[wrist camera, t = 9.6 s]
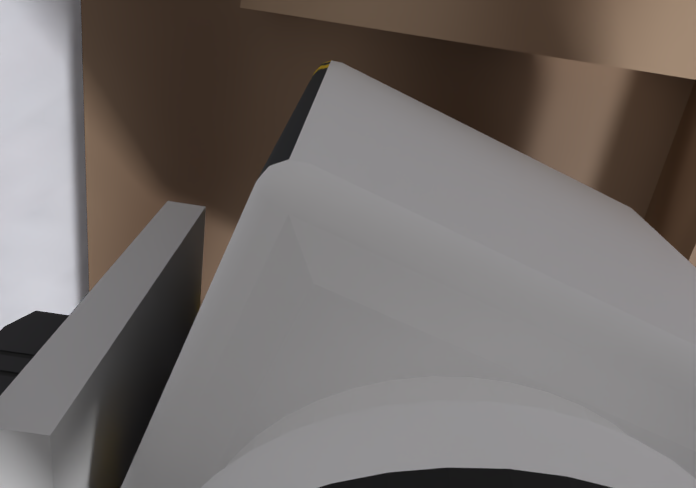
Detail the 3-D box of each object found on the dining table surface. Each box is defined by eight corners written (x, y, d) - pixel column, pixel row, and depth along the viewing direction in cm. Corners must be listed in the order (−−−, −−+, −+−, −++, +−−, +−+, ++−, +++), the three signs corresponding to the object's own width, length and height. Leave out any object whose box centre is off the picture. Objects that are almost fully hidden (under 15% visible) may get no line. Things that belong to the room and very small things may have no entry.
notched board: (107, 381, 20) (55, 464, 16) (100, -125, 14) (16, -153, 11) (601, 450, 20) (646, 544, 17) (790, -12, 14) (914, -5, 11)
